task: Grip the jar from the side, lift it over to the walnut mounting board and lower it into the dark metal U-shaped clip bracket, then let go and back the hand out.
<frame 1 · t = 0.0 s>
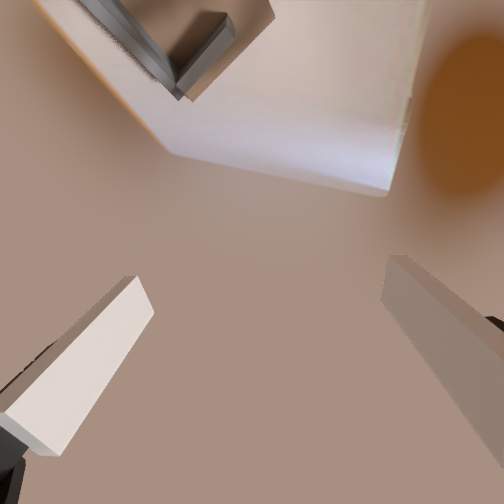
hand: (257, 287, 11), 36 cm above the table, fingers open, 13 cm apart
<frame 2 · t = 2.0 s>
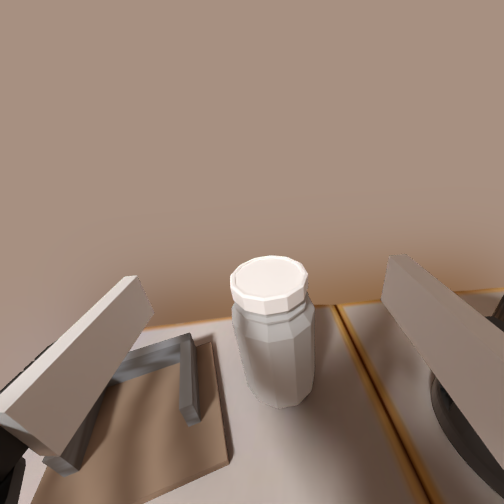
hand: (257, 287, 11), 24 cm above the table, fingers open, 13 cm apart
jar: (280, 376, 31), on the table
mounting board: (145, 419, 28), on the table
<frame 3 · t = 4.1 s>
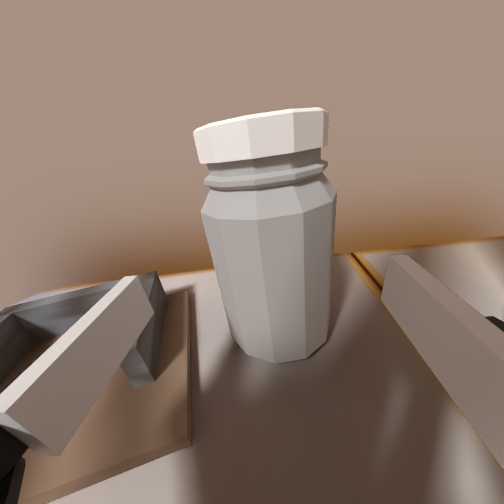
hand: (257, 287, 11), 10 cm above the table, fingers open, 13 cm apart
jar: (279, 327, 21), on the table
mounting board: (77, 381, 19), on the table
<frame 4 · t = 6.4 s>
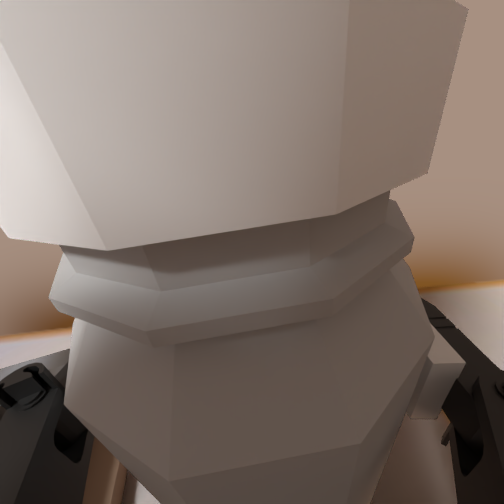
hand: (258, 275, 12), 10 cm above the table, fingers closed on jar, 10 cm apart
jar: (274, 451, 13), on the table, touching gripper
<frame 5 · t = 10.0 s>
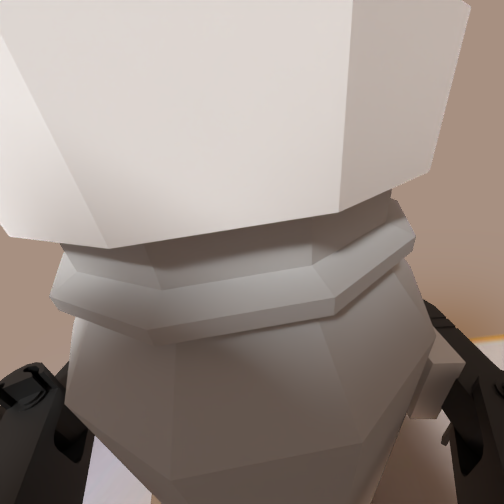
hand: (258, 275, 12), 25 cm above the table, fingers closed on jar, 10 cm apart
jar: (275, 451, 13), point 15 cm above the table, touching gripper
when the fingers open (13 cm above the table, at t = 13.6 s): jar drops 1 cm, resting on mounting board.
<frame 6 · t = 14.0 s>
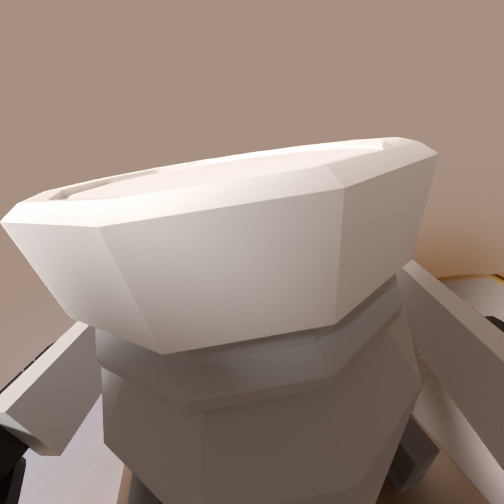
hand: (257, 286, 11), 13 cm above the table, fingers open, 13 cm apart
jar: (279, 462, 14), point 1 cm above the table, touching mounting board
mounting board: (277, 467, 14), on the table
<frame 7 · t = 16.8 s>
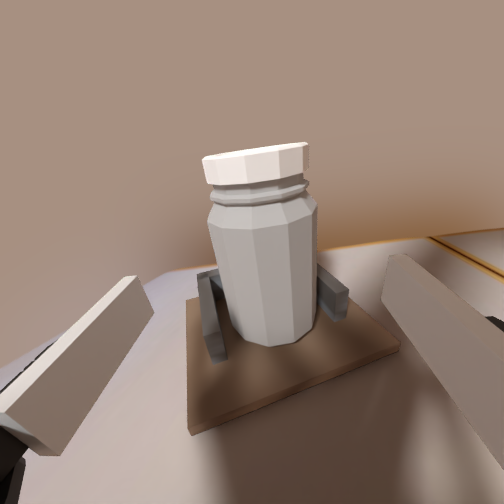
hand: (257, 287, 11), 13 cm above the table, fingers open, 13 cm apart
jar: (273, 318, 25), point 1 cm above the table, touching mounting board
mounting board: (272, 324, 25), on the table
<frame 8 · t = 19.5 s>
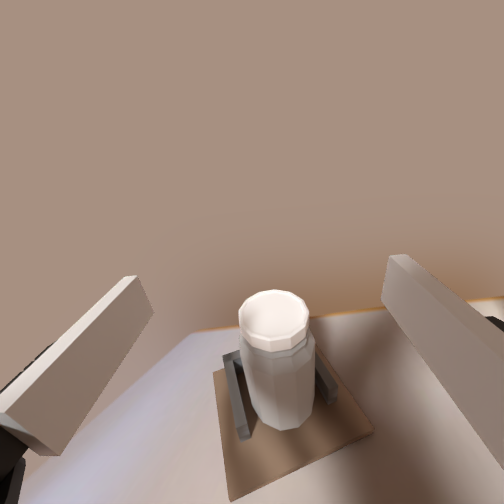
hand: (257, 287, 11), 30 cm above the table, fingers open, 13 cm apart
jar: (282, 397, 33), point 1 cm above the table, touching mounting board
mounting board: (281, 400, 33), on the table
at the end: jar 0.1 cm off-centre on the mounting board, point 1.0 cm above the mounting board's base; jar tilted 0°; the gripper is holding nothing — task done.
